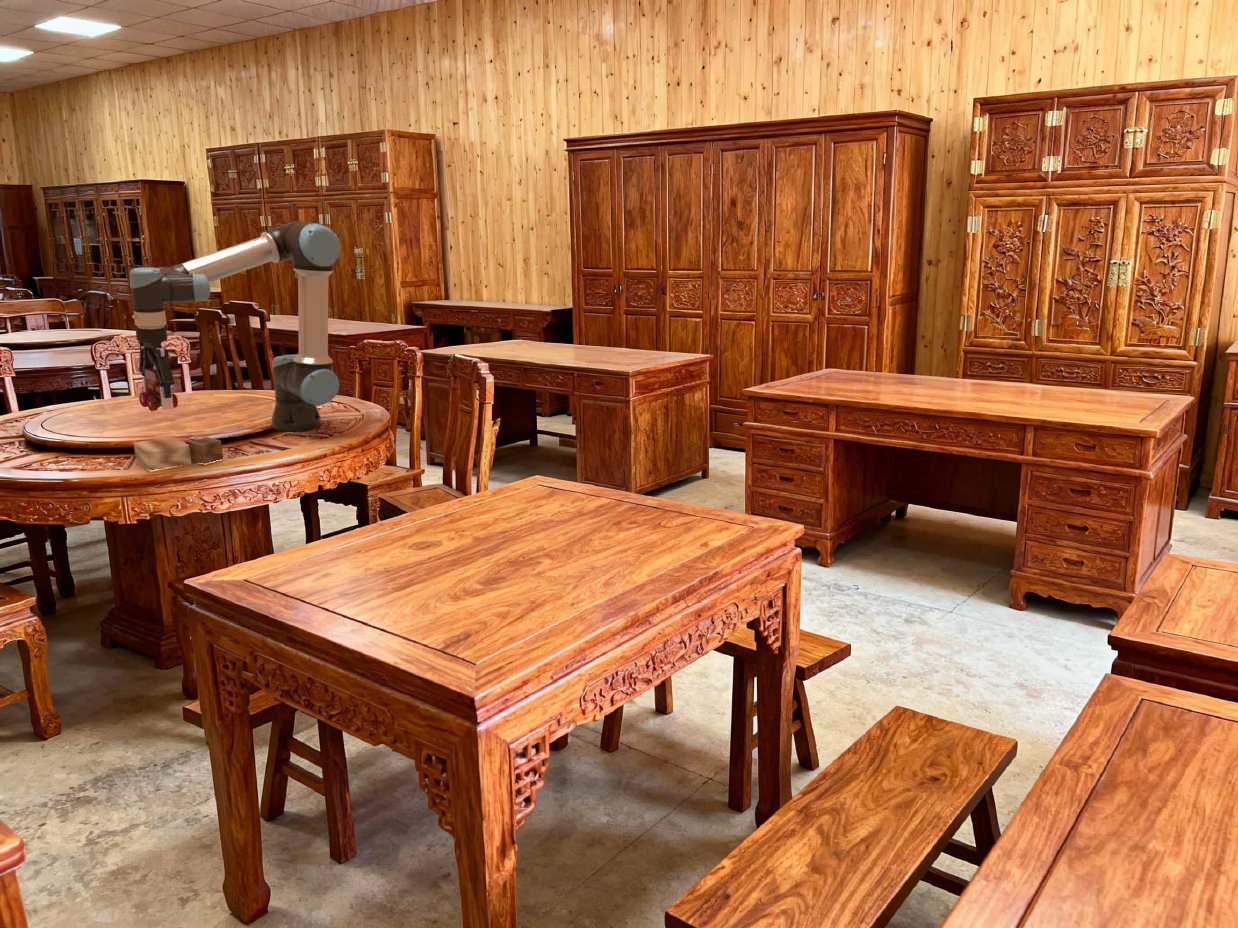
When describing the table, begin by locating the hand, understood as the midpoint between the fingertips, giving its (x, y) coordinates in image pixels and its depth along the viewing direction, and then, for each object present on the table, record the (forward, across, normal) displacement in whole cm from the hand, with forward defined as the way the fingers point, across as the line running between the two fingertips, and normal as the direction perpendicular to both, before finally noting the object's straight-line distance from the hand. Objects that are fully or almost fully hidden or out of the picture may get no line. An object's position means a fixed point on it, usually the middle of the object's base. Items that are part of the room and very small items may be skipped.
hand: (159, 404), depth 254 cm
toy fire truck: (+1, 0, 0) cm, 1 cm away
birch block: (+18, 0, 0) cm, 18 cm away
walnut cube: (+17, +5, +10) cm, 20 cm away
